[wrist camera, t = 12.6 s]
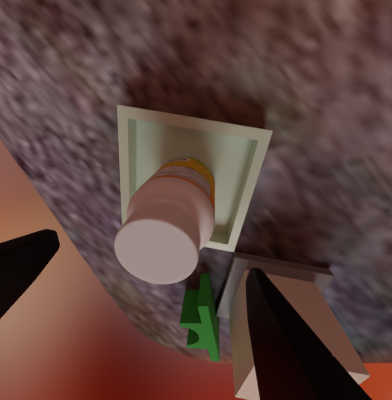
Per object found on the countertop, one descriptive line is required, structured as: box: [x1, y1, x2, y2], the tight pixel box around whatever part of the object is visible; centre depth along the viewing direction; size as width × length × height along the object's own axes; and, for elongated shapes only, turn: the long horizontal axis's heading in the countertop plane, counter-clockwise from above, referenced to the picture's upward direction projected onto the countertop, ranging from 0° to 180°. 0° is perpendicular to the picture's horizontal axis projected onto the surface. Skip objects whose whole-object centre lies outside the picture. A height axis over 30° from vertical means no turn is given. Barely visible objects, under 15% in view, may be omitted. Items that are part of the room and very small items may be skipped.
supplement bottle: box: [114, 156, 215, 284], centre depth 12 cm, size 5×5×10 cm
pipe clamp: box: [180, 273, 220, 361], centre depth 23 cm, size 11×4×5 cm, turn 10°
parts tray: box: [117, 105, 273, 252], centre depth 16 cm, size 12×12×2 cm
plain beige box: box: [216, 251, 370, 400], centre depth 19 cm, size 11×11×9 cm
